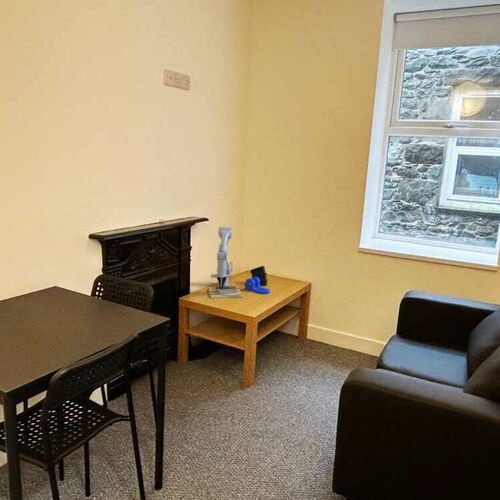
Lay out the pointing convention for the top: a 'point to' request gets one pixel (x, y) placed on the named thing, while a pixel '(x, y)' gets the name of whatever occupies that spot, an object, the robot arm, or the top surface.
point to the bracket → (255, 286)
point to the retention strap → (225, 287)
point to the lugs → (233, 289)
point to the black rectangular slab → (260, 275)
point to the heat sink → (225, 290)
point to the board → (217, 295)
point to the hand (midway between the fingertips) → (221, 287)
